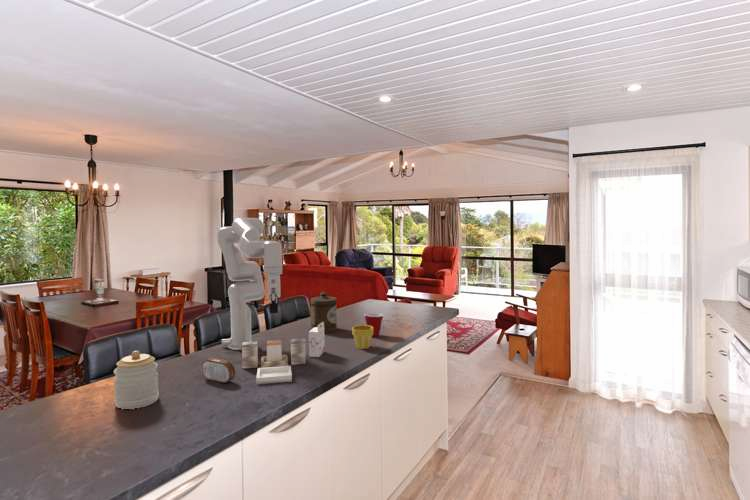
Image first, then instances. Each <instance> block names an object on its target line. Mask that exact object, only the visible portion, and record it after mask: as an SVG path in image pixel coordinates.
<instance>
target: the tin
mask: <svg viewBox="0 0 750 500" xmlns="http://www.w3.org/2000/svg"><path fill="white" fill-rule="evenodd" d="M201 370H202V374H203V376H204V378H206V379H207V380H209V381H213V382H218V383H220V384H221V383H222V384H227V383H229V382H231V381H233V380H234V379H235V377H236V369H235V366H234V365H233V363H232V362H231V361H229V360H228V359H224V358H223V359H222V358H217V357H213V356H212V357H208V359H205V360H204V361H203V362H202V364H201Z"/></svg>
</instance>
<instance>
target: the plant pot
mask: <svg viewBox="0 0 750 500" xmlns="http://www.w3.org/2000/svg"><path fill="white" fill-rule="evenodd" d="M351 329H352V330H351V334H352V336H353V339H354V342H355V347H356V349H360V350H365V349H369V348H370V346H371V342H372V338H373V337H372V335H373V327H372V326H369V325H366V324H360V325H359V324H357V325H354V326H352V327H351Z"/></svg>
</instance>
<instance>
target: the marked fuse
mask: <svg viewBox="0 0 750 500" xmlns="http://www.w3.org/2000/svg"><path fill="white" fill-rule="evenodd" d="M282 351H283V349H282V339H274V340H266V356H267V362H273V361H282V355H283V354H282Z"/></svg>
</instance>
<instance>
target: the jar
mask: <svg viewBox="0 0 750 500" xmlns="http://www.w3.org/2000/svg"><path fill="white" fill-rule="evenodd" d="M155 360H156V357H154V356H152V355H150V354H147V353H140V351H139V350H134V351H132V352H131V355H128V356H124V357H122V358H121V359H119V361H117V362H116V363H115V365H116V366H117V367H115V369H114V370H113V374H114V375H115V379H114V380H113V383H114V394H115V395H114V403H115V408H117V407H118V409H119V408H121V409H120V410H124V409H130V410H136V409H135V408H137V409H141V407H142V408H145V407H148V406H150V405H153V404H154V403H156V402H157V401H158V400H159V395H160V394H159V393H160V391H159V378H158V377H159V373H158V372H157V368H158V367H159V365H158V363H157V362H155Z"/></svg>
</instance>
